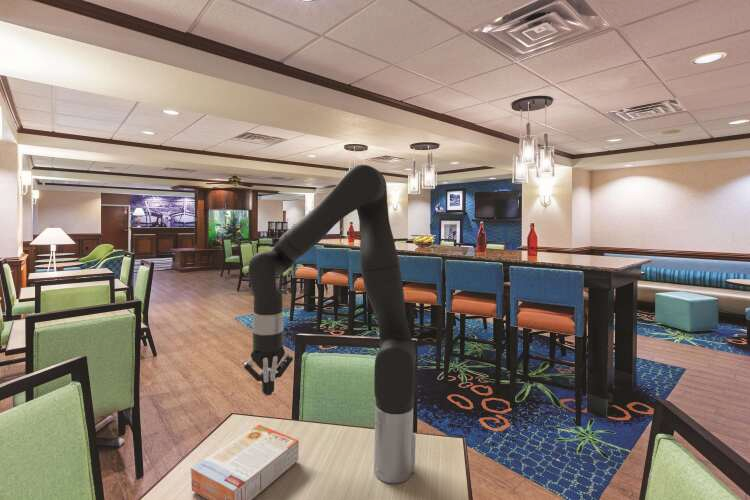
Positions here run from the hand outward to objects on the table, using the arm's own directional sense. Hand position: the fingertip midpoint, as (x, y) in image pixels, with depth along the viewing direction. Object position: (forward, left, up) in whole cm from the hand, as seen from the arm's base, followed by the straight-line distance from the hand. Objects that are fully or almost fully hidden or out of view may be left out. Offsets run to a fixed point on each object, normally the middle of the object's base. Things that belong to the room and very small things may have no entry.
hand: (268, 393), depth 101 cm
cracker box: (-3, +2, -13) cm, 13 cm away
